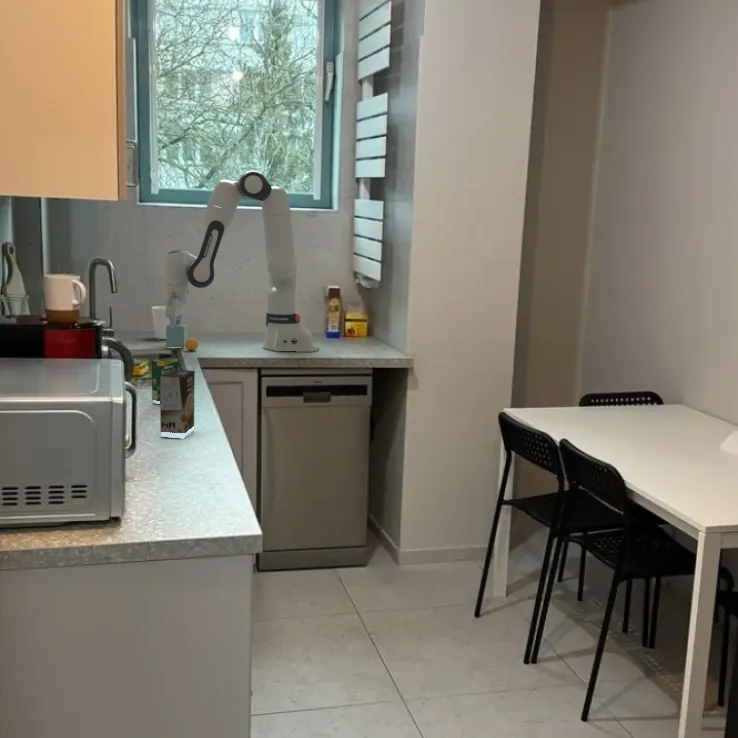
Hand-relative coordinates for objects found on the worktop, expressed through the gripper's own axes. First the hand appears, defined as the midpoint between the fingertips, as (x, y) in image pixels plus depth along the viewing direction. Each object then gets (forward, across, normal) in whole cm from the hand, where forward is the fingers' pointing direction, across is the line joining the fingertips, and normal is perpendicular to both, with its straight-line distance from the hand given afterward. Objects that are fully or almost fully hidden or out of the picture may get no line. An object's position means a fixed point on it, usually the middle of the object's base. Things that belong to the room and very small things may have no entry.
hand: (175, 326), depth 353 cm
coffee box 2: (+8, -93, -18) cm, 95 cm away
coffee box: (+8, -127, -29) cm, 130 cm away
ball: (+6, -6, -8) cm, 11 cm away
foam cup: (+9, +20, +9) cm, 24 cm away
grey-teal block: (+8, 0, -1) cm, 8 cm away
